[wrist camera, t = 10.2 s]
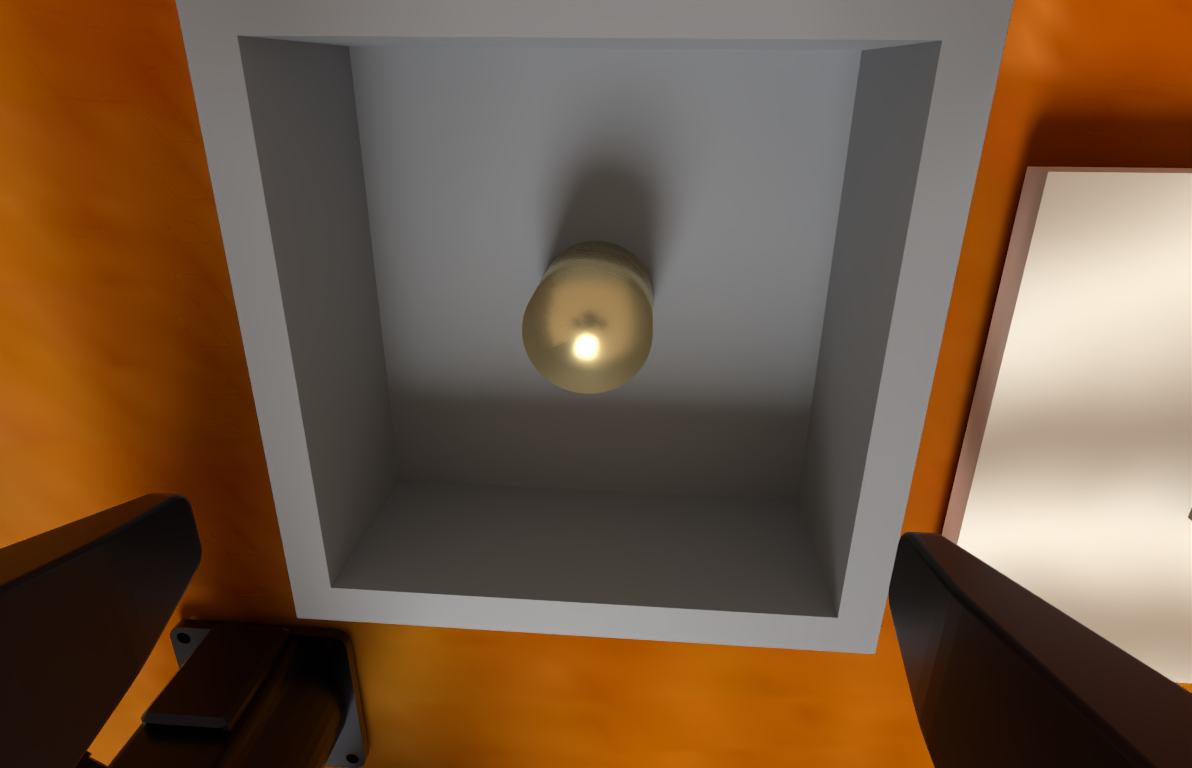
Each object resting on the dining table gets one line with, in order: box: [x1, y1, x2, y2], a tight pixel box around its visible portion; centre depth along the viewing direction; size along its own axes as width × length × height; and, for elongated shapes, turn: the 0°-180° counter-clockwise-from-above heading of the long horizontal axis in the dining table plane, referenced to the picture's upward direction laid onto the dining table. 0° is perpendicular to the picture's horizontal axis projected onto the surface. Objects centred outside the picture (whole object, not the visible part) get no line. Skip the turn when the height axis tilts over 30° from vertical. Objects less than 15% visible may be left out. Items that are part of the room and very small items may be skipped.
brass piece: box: [522, 241, 653, 394], centre depth 18 cm, size 3×3×3 cm
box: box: [176, 0, 1014, 654], centre depth 17 cm, size 14×14×6 cm
